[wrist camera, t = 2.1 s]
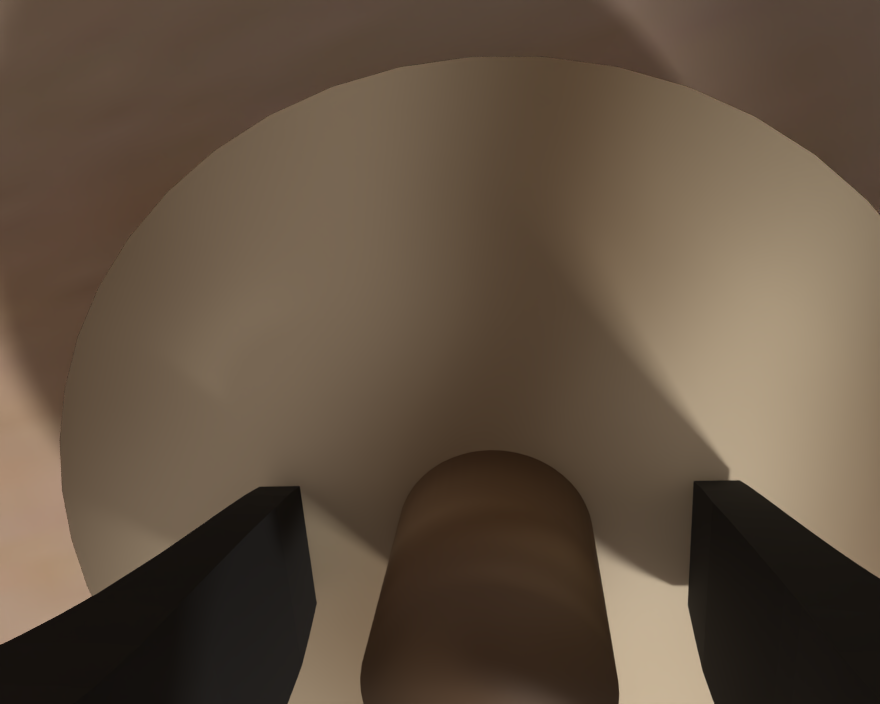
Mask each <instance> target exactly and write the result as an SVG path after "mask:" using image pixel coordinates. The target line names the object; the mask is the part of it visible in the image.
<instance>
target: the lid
mask: <svg viewBox="0 0 880 704" xmlns="http://www.w3.org/2000/svg"><path fill="white" fill-rule="evenodd" d="M60 456H61V477H62V492H63V498H64V503H65V508H66V513H67V519H68V524H69V529H70V534H71V539H72V542H73V545H74V548H75V551H76V554H77V557H78V560H79V563H80V566H81V569H82V572H83V575H84V578H85V581H86V584H87V587H88V589H89V591H90V593H91V595H92V596H94V595H95V594H97V593H99V592H100V591H102V590H103V589H105V588H107V587H108V586H110V585H111V584H113V583H114V582H116V581H118V580H119V579H121V578H122V577H124V576H125V575H127V574H129V573H130V572H132V571H133V570H135V569H136V568H138V567H140V566H141V565H143V564H144V563H146V562H147V561H149V560H151V559H152V558H154V557H155V556H157V555H158V554H160V553H161V552H163V551H164V550H166V549H167V548H169V547H170V546H172V545H173V544H174V543H176V542H177V541H179V540H180V539H182V538H183V537H185V536H186V535H187V534H189V533H190V532H192V531H193V530H195V529H196V528H198V527H199V526H200V525H202V524H203V523H205V522H206V521H208V520H209V519H210V518H212V517H213V516H215V515H216V514H218V513H219V512H220V511H222V510H223V509H225V508H226V507H228V506H229V505H231V504H232V503H234V502H235V501H237V500H238V499H240V498H241V497H243V496H244V495H246V494H247V493H249V492H251V491H252V490H254V489H256V488H258V487H267V486H300V491H301V497H302V504H303V511H304V518H305V525H306V532H307V539H308V546H309V553H310V560H311V567H312V574H313V581H314V587H315V594H316V601H317V605H316V610H315V614H314V618H313V623H312V627H311V632H310V636H309V640H308V644H307V648H306V652H305V656H304V660H303V664H302V667H301V670H300V673H299V675H298V678H297V681H296V683H295V686H294V689H293V691H292V694H291V696H290V699H289V702H288V704H714V702H713V699H712V696H711V694H710V691H709V688H708V685H707V682H706V680H705V677H704V674H703V671H702V667H701V662H700V658H699V654H698V650H697V645H696V641H695V637H694V632H693V627H692V623H691V618H690V614H689V609H688V588H689V567H690V546H691V526H692V505H693V484H694V481H718V480H740V481H742V482H743V483H745V484H746V485H748V486H749V487H751V488H752V489H754V490H755V491H757V492H758V493H759V494H761V495H762V496H763V497H765V498H766V499H768V500H769V501H770V502H772V503H773V504H774V505H776V506H777V507H778V508H780V509H781V510H782V511H784V512H785V513H786V514H788V515H789V516H791V517H792V518H793V519H795V520H796V521H797V522H799V523H800V524H801V525H803V526H804V527H806V528H807V529H808V530H810V531H811V532H812V533H814V534H815V535H817V536H818V537H819V538H821V539H822V540H824V541H825V542H826V543H828V544H829V545H831V546H832V547H833V548H835V549H836V550H838V551H839V552H841V553H842V554H844V555H845V556H846V557H848V558H849V559H851V560H852V561H854V562H855V563H857V564H858V565H860V566H861V567H863V568H864V569H866V570H867V571H869V572H870V573H872V574H873V575H875V576H877V577H878V578H880V215H879V214H878V213H877V211H876V210H875V209H874V208H873V207H872V205H871V204H870V203H869V202H868V201H867V200H866V199H865V198H864V197H863V196H862V195H861V194H859V193H858V192H857V191H856V190H855V189H854V188H853V187H851V186H850V185H849V184H848V183H847V182H846V181H844V180H843V179H842V178H841V177H840V176H839V175H838V174H836V173H835V172H834V171H833V170H832V169H831V168H830V167H828V166H827V165H826V164H825V163H824V162H823V161H822V160H820V159H819V158H818V157H817V156H816V155H814V154H813V153H811V152H810V151H808V150H807V149H805V148H803V147H802V146H800V145H799V144H797V143H796V142H794V141H792V140H791V139H789V138H788V137H786V136H785V135H783V134H781V133H780V132H778V131H777V130H775V129H774V128H772V127H770V126H769V125H767V124H766V123H764V122H763V121H761V120H759V119H758V118H756V117H755V116H752V115H750V114H748V113H746V112H743V111H741V110H739V109H737V108H734V107H732V106H730V105H728V104H726V103H723V102H721V101H719V100H717V99H714V98H712V97H710V96H708V95H705V94H703V93H701V92H699V91H696V90H694V89H692V88H690V87H687V86H683V85H680V84H676V83H673V82H669V81H666V80H662V79H659V78H655V77H652V76H648V75H645V74H641V73H638V72H634V71H631V70H627V69H624V68H620V67H615V66H608V65H601V64H594V63H586V62H579V61H572V60H564V59H557V58H550V57H467V58H460V59H453V60H446V61H439V62H433V63H426V64H419V65H412V66H405V67H399V68H395V69H392V70H388V71H385V72H381V73H378V74H375V75H371V76H368V77H364V78H361V79H357V80H354V81H351V82H347V83H344V84H340V85H337V86H333V87H331V88H328V89H326V90H324V91H322V92H320V93H317V94H315V95H313V96H311V97H309V98H306V99H304V100H302V101H300V102H298V103H295V104H293V105H291V106H289V107H287V108H284V109H282V110H280V111H278V112H276V113H273V114H271V115H269V116H268V117H266V118H265V119H263V120H261V121H260V122H258V123H257V124H255V125H254V126H252V127H251V128H249V129H247V130H246V131H244V132H243V133H241V134H240V135H238V136H237V137H235V138H233V139H232V140H230V141H229V142H227V143H226V144H224V145H223V146H221V147H219V148H218V149H216V150H215V151H214V152H212V153H211V154H210V155H209V156H208V157H207V158H206V159H204V160H203V161H202V162H201V163H200V164H199V165H198V166H196V167H195V168H194V169H193V170H192V171H191V172H190V173H189V174H187V175H186V176H185V177H184V178H183V179H182V180H181V181H179V182H178V183H177V184H176V185H175V186H174V187H173V188H171V189H170V190H169V191H168V192H167V193H166V194H165V195H164V197H163V198H162V199H161V200H160V201H159V203H158V204H157V205H156V206H155V207H154V209H153V210H152V211H151V212H150V213H149V214H148V216H147V217H146V218H145V219H144V220H143V222H142V223H141V224H140V225H139V226H138V227H137V229H136V230H135V231H134V232H133V233H132V235H131V236H130V237H129V238H128V240H127V242H126V243H125V245H124V246H123V248H122V250H121V251H120V253H119V255H118V256H117V258H116V260H115V261H114V263H113V264H112V266H111V268H110V269H109V271H108V273H107V274H106V276H105V277H104V279H103V281H102V282H101V284H100V286H99V288H98V290H97V292H96V295H95V297H94V300H93V302H92V304H91V307H90V309H89V311H88V314H87V316H86V319H85V321H84V323H83V326H82V328H81V331H80V333H79V335H78V338H77V342H76V346H75V350H74V354H73V358H72V362H71V366H70V370H69V374H68V378H67V382H66V386H65V391H64V401H63V412H62V422H61V432H60Z"/></svg>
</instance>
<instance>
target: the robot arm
mask: <svg viewBox="0 0 880 704" xmlns="http://www.w3.org/2000/svg"><path fill="white" fill-rule="evenodd" d="M316 605H317V601H316V594H315V587H314V581H313V574H312V567H311V560H310V553H309V546H308V539H307V532H306V525H305V518H304V511H303V504H302V497H301V491H300V486H267V487H258V488H256V489H254V490H252V491H251V492H249V493H247V494H246V495H244V496H243V497H241V498H240V499H238V500H237V501H235V502H234V503H232V504H231V505H229V506H228V507H226V508H225V509H223V510H222V511H220V512H219V513H218V514H216V515H215V516H213V517H212V518H210V519H209V520H208V521H206V522H205V523H203V524H202V525H200V526H199V527H198V528H196V529H195V530H193V531H192V532H190V533H189V534H187V535H186V536H185V537H183V538H182V539H180V540H179V541H177V542H176V543H174V544H173V545H172V546H170V547H169V548H167V549H166V550H164V551H163V552H161V553H160V554H158V555H157V556H155V557H154V558H152V559H151V560H149V561H147V562H146V563H144V564H143V565H141V566H140V567H138V568H136V569H135V570H133V571H132V572H130V573H129V574H127V575H125V576H124V577H122V578H121V579H119V580H118V581H116V582H114V583H113V584H111V585H110V586H108V587H107V588H105V589H103V590H102V591H100V592H99V593H97V594H95V595H94V596H92V597H90V598H88V599H87V600H85V601H83V602H82V603H80V604H78V605H76V606H74V607H73V608H71V609H69V610H67V611H66V612H64V613H62V614H60V615H58V616H56V617H54V618H52V619H51V620H49V621H47V622H45V623H43V624H41V625H39V626H37V627H35V628H33V629H32V630H30V631H28V632H26V633H24V634H22V635H20V636H18V637H16V638H14V639H12V640H10V641H8V642H6V643H4V644H1V645H0V704H288V702H289V699H290V696H291V694H292V691H293V689H294V686H295V683H296V681H297V678H298V675H299V673H300V670H301V667H302V664H303V660H304V656H305V652H306V648H307V644H308V640H309V636H310V632H311V627H312V623H313V618H314V614H315V610H316ZM688 609H689V614H690V618H691V623H692V627H693V632H694V637H695V641H696V645H697V650H698V654H699V658H700V662H701V667H702V671H703V674H704V677H705V680H706V682H707V685H708V688H709V691H710V694H711V696H712V699H713V702H714V704H880V578H878V577H877V576H875V575H873V574H872V573H870V572H869V571H867V570H866V569H864V568H863V567H861V566H860V565H858V564H857V563H855V562H854V561H852V560H851V559H849V558H848V557H846V556H845V555H844V554H842V553H841V552H839V551H838V550H836V549H835V548H833V547H832V546H831V545H829V544H828V543H826V542H825V541H824V540H822V539H821V538H819V537H818V536H817V535H815V534H814V533H812V532H811V531H810V530H808V529H807V528H806V527H804V526H803V525H801V524H800V523H799V522H797V521H796V520H795V519H793V518H792V517H791V516H789V515H788V514H786V513H785V512H784V511H782V510H781V509H780V508H778V507H777V506H776V505H774V504H773V503H772V502H770V501H769V500H768V499H766V498H765V497H763V496H762V495H761V494H759V493H758V492H757V491H755V490H754V489H752V488H751V487H749V486H748V485H746V484H745V483H743V482H742V481H740V480H718V481H694V484H693V505H692V526H691V546H690V567H689V588H688Z"/></svg>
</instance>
